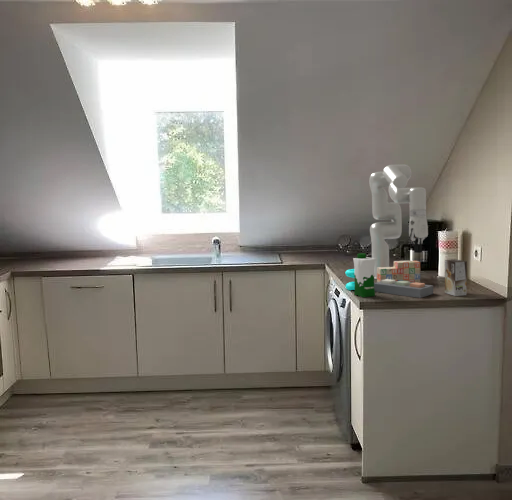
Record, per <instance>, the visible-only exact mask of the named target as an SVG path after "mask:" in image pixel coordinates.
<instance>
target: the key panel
mask: <svg viewBox="0 0 512 500" xmlns="http://www.w3.org/2000/svg"><path fill="white" fill-rule="evenodd" d="M395 282H397V281H395ZM410 284H411V283H410ZM374 289H375V293H382V294H383V293H384V294H389V295H395V296H396V295H398V296H405V297H412V298H418V299H419V298H420V299H421V298H425V297H427V296H431V295H434V285H431V284H425V286H424V287H421V288H417V287H410V285H406V286H401V285H395V283H393V284H385V283H381V282H377V281H376V282H374Z"/></svg>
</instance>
